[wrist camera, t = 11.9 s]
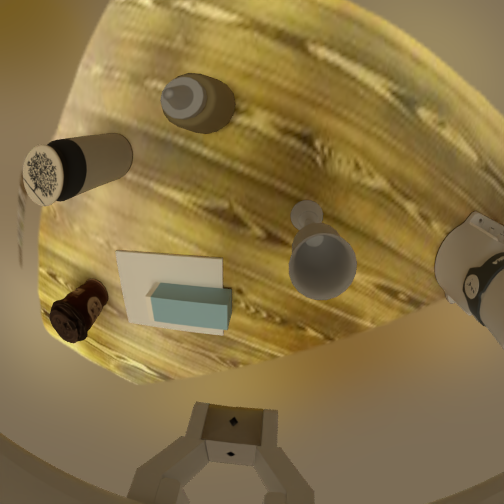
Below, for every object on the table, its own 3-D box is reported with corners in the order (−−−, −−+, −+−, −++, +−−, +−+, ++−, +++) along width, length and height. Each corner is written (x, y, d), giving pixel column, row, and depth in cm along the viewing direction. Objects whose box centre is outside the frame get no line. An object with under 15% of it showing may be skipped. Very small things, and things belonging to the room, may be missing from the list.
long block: (227, 305, 45) (145, 296, 46) (227, 330, 47) (149, 320, 48) (231, 289, 50) (155, 282, 51) (231, 313, 52) (158, 305, 53)
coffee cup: (116, 284, 53) (82, 321, 41) (113, 315, 56) (83, 353, 44) (81, 268, 52) (44, 300, 40) (80, 299, 55) (48, 333, 43)
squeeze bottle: (247, 120, 39) (226, 112, 23) (197, 142, 41) (148, 151, 25) (226, 73, 37) (193, 38, 20) (177, 96, 38) (118, 80, 22)
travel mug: (116, 123, 40) (41, 128, 24) (141, 158, 43) (73, 179, 26) (87, 154, 43) (14, 174, 26) (111, 188, 45) (42, 221, 29)
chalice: (331, 234, 45) (358, 294, 29) (289, 241, 46) (294, 304, 30) (325, 189, 42) (354, 227, 26) (281, 196, 44) (283, 238, 27)
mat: (222, 257, 48) (222, 259, 48) (223, 333, 55) (223, 335, 54) (116, 249, 50) (115, 251, 49) (130, 320, 56) (129, 322, 55)
